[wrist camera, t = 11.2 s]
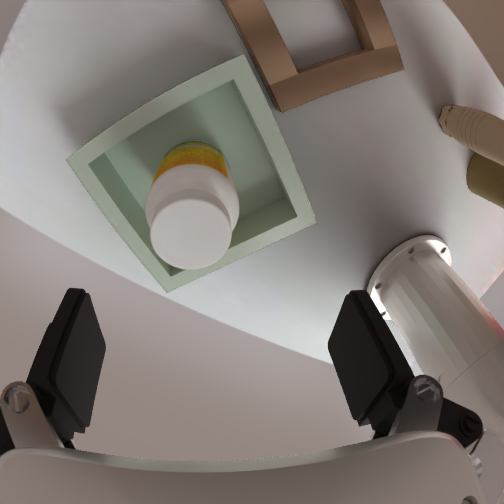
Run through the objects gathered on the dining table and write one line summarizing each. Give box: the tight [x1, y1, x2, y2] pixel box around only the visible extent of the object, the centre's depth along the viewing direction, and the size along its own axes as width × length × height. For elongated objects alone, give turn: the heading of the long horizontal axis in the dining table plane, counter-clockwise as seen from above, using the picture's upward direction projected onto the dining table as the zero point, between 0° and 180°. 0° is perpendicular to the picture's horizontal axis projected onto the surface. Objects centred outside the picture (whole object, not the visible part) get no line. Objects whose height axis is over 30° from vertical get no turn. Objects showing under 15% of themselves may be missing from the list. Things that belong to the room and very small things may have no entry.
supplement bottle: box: [145, 140, 239, 270], centre depth 18 cm, size 5×5×10 cm
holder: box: [221, 0, 405, 112], centre depth 17 cm, size 11×11×2 cm
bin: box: [66, 54, 317, 293], centre depth 21 cm, size 13×13×4 cm
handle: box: [439, 105, 504, 166], centre depth 17 cm, size 5×6×15 cm
